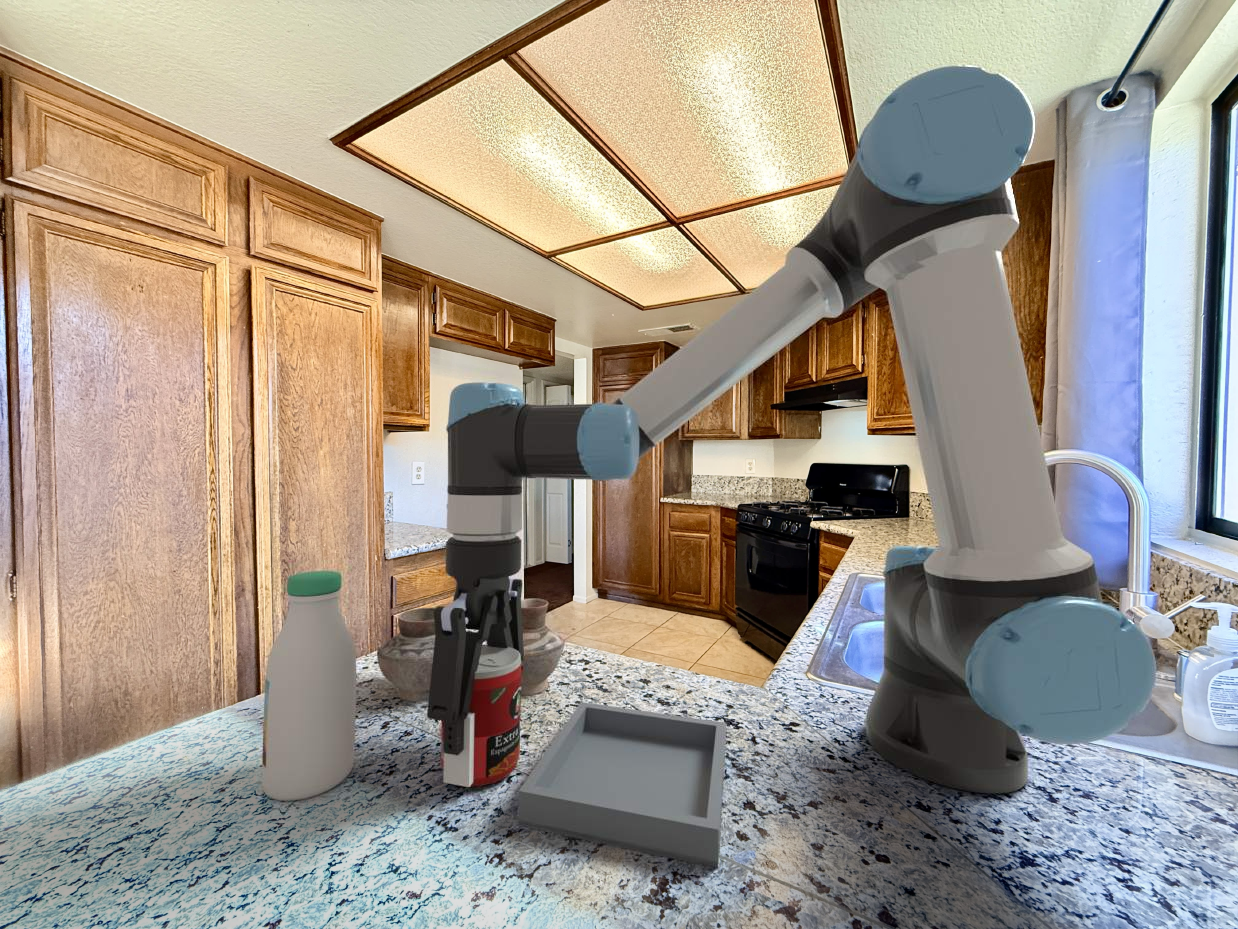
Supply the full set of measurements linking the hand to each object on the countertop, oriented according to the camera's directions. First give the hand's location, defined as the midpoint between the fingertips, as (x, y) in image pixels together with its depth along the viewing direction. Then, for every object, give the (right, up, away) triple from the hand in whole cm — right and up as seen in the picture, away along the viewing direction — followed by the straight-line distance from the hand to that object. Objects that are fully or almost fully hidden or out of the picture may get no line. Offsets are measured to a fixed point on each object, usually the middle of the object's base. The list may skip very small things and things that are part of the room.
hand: (481, 757), depth 51 cm
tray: (+16, -1, -2) cm, 16 cm away
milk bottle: (-16, -1, -2) cm, 16 cm away
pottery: (-6, -1, +18) cm, 19 cm away
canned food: (0, -1, 0) cm, 1 cm away
